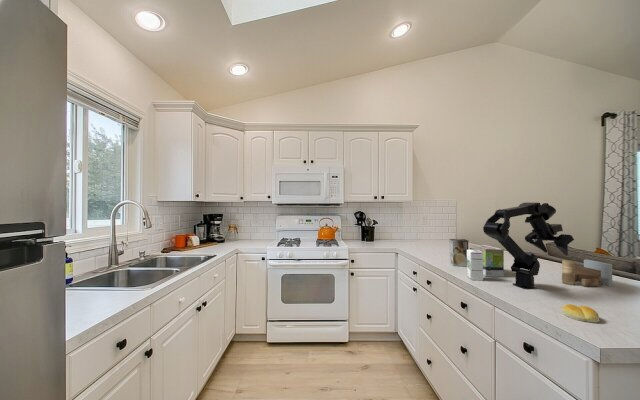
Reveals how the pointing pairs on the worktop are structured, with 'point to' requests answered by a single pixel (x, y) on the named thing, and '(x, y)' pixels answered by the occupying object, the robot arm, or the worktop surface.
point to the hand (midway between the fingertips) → (556, 253)
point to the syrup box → (475, 265)
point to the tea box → (491, 260)
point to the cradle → (588, 276)
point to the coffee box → (458, 252)
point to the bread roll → (581, 313)
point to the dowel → (568, 272)
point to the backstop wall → (605, 270)
